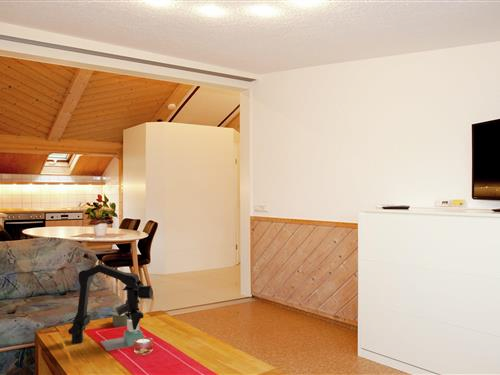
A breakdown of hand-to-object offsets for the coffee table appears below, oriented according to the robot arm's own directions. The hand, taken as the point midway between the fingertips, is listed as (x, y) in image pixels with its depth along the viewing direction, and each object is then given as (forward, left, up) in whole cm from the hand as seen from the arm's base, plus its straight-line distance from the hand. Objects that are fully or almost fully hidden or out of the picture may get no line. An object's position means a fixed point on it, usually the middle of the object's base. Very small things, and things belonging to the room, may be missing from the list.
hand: (133, 328), depth 233 cm
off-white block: (0, 0, -1) cm, 1 cm away
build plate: (-3, -5, -9) cm, 10 cm away
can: (-39, +4, -9) cm, 40 cm away
